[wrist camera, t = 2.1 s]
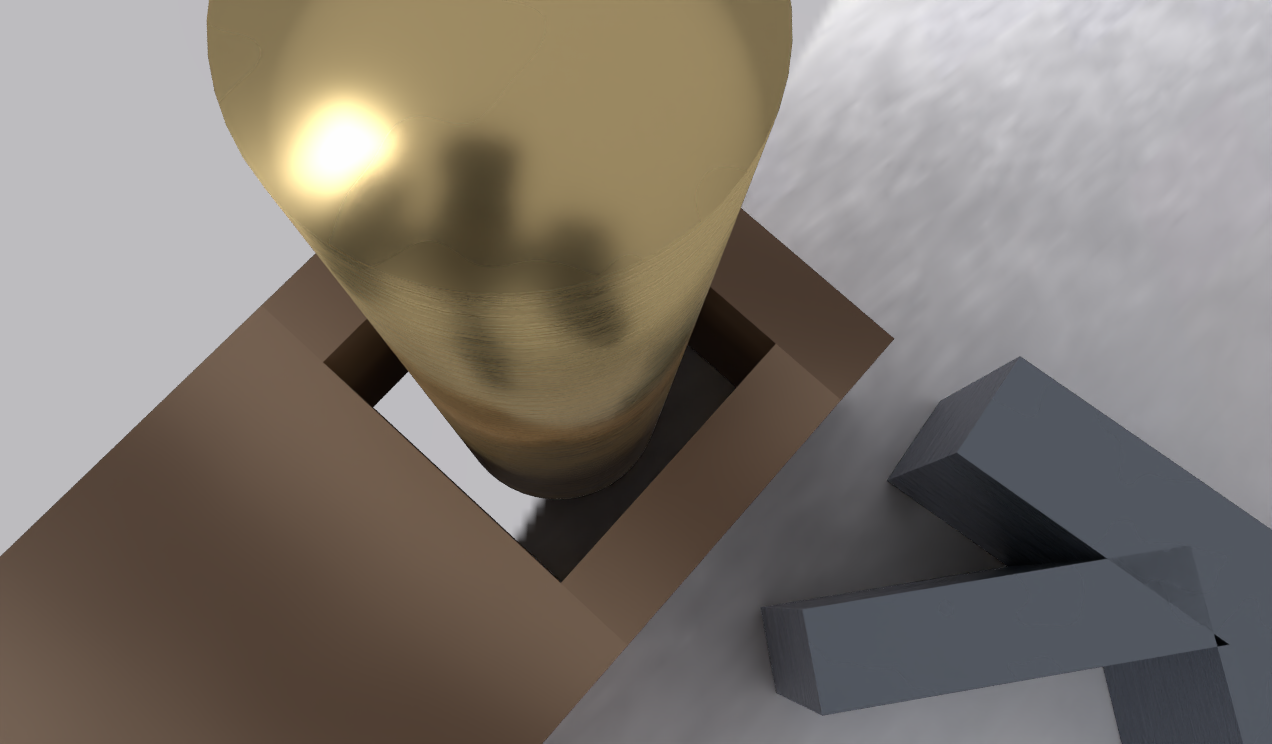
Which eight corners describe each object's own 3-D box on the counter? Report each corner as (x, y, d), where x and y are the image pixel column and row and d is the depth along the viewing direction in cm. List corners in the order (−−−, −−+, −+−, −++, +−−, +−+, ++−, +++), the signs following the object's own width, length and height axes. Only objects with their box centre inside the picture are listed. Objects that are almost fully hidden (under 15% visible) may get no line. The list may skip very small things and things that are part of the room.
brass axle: (564, 542, 20) (515, 421, 7) (416, 405, 21) (81, 23, 7) (699, 393, 21) (907, 4, 7) (553, 264, 21) (495, -329, 8)
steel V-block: (1236, 1033, 19) (1405, 1147, 15) (726, 656, 20) (761, 670, 16) (1397, 721, 20) (1592, 750, 16) (913, 382, 21) (987, 332, 17)
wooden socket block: (340, 955, 18) (274, 1052, 15) (34, 646, 19) (-106, 657, 15) (837, 387, 21) (893, 338, 17) (549, 136, 22) (540, 37, 18)
